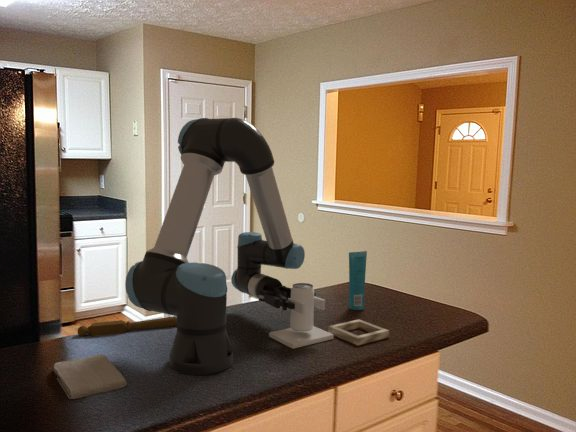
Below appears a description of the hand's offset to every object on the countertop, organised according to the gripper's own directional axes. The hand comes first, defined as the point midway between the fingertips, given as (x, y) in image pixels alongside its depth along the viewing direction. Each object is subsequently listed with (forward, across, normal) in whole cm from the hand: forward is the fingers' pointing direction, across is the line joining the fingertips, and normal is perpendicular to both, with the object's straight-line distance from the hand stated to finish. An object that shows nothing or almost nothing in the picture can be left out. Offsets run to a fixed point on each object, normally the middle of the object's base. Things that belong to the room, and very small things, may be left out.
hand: (313, 306), depth 139 cm
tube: (-18, -33, -10) cm, 39 cm away
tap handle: (-36, +36, -11) cm, 52 cm away
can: (-5, 0, -7) cm, 9 cm away
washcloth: (-9, +56, -11) cm, 58 cm away
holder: (+2, -15, -10) cm, 18 cm away
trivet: (-5, 0, -10) cm, 11 cm away
